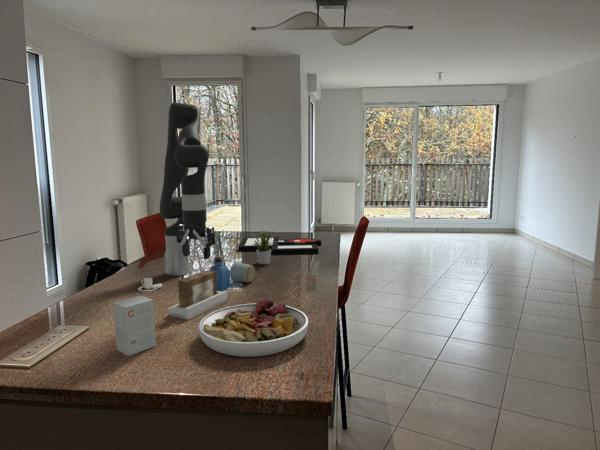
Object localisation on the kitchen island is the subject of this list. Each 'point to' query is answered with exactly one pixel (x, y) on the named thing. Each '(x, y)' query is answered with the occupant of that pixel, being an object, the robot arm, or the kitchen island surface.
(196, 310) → the frame
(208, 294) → the oak frame
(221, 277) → the perfume bottle
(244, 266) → the ceramic mug
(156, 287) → the teacup and saucer
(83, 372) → the kitchen island surface
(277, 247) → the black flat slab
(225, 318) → the bowl
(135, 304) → the small box
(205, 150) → the robot arm
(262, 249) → the house plant
